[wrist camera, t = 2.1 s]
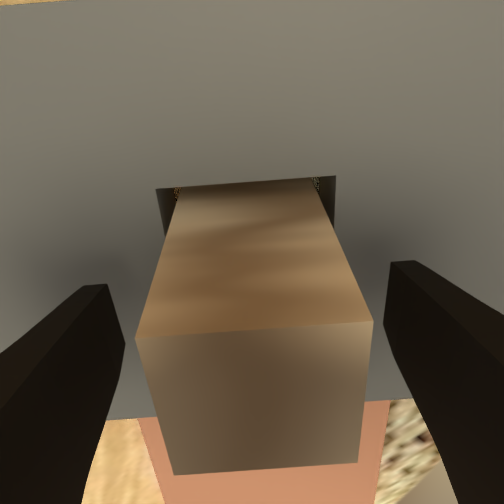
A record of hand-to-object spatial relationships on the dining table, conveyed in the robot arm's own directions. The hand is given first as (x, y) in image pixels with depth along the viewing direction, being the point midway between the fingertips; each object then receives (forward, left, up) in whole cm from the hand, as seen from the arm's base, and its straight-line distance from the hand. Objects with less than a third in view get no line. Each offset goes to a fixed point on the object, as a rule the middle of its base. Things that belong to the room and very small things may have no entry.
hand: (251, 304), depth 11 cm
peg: (0, 0, -5) cm, 5 cm away
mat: (0, +14, -5) cm, 15 cm away
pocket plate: (0, 0, -5) cm, 5 cm away
